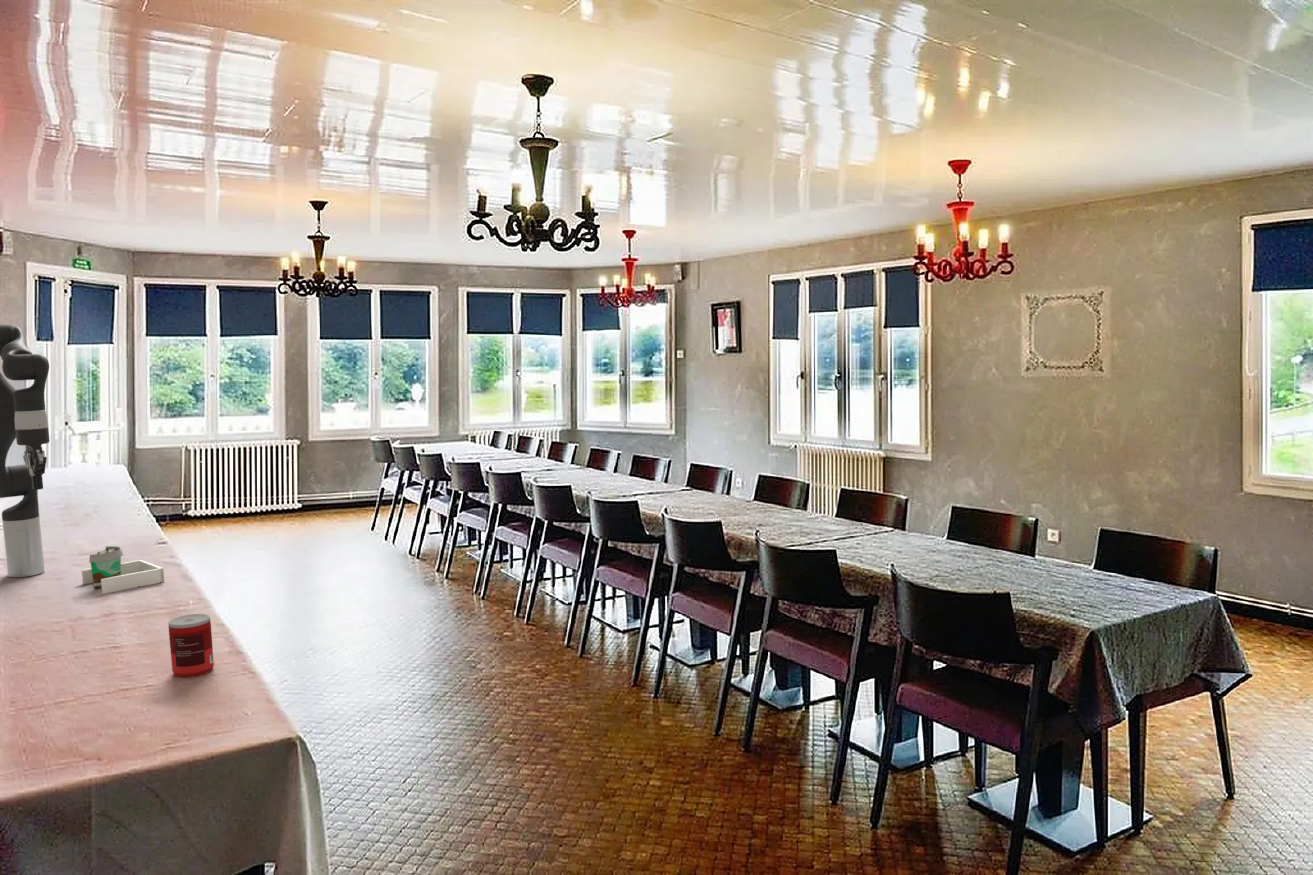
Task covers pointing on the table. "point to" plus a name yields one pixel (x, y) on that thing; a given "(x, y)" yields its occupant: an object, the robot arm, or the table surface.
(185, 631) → the canned food
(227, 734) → the table surface
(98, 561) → the food container
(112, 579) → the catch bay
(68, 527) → the table surface
